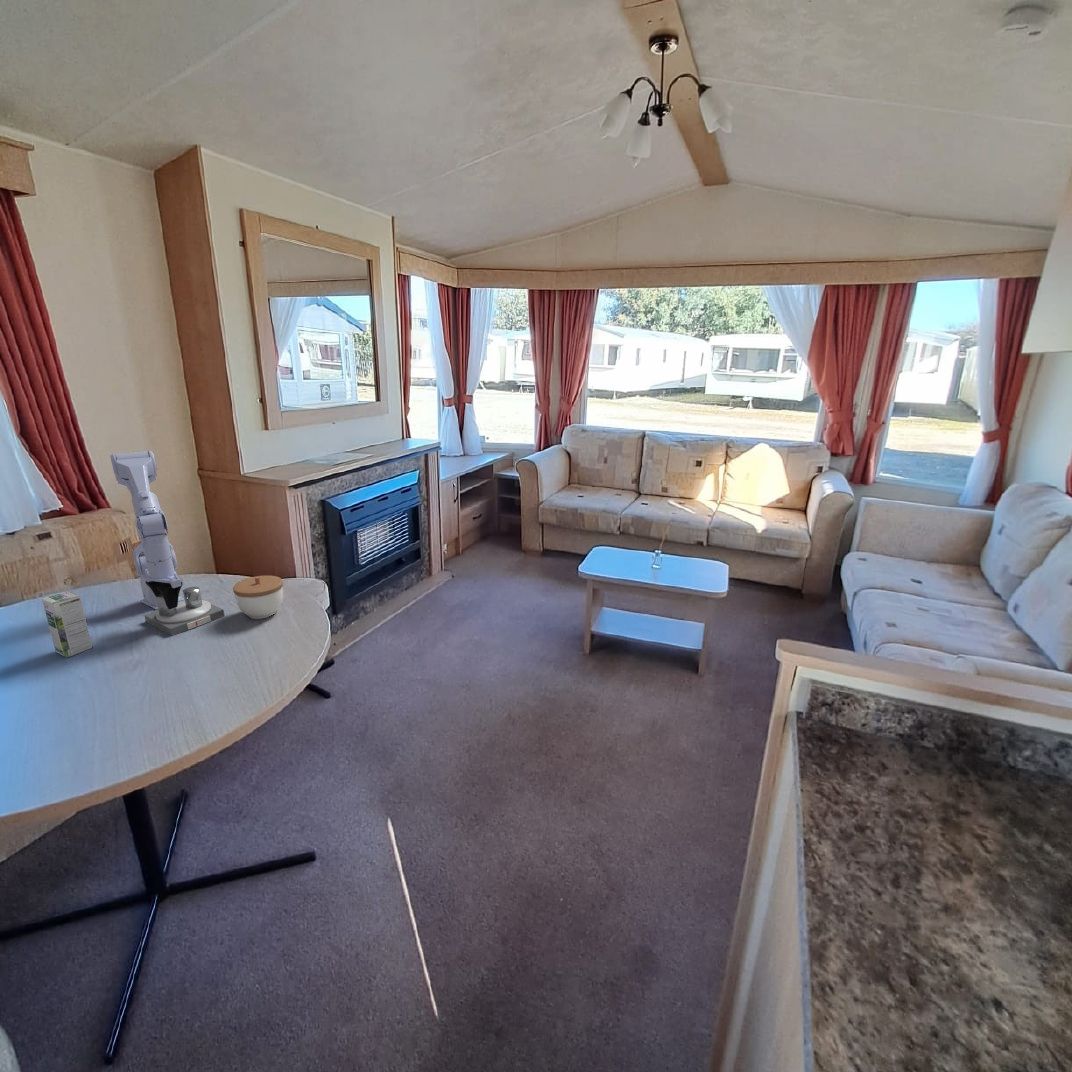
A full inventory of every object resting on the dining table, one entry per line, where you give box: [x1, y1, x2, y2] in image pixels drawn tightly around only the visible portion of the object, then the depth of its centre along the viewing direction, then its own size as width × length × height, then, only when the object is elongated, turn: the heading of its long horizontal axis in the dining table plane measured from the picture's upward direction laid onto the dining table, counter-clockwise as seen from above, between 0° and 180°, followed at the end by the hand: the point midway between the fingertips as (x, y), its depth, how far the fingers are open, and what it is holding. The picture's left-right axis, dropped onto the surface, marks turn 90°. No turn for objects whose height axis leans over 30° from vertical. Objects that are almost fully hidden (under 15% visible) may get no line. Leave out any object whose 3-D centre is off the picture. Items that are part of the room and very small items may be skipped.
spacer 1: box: [156, 594, 177, 616], centre depth 151 cm, size 4×4×5 cm
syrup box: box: [41, 590, 93, 658], centre depth 138 cm, size 6×6×14 cm
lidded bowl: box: [232, 575, 284, 620], centre depth 159 cm, size 13×13×11 cm
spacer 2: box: [182, 586, 203, 609], centre depth 157 cm, size 4×4×5 cm
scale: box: [143, 599, 225, 637], centre depth 156 cm, size 15×14×3 cm
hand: (168, 605), depth 152 cm, fingers closed on spacer 1, 4 cm apart
